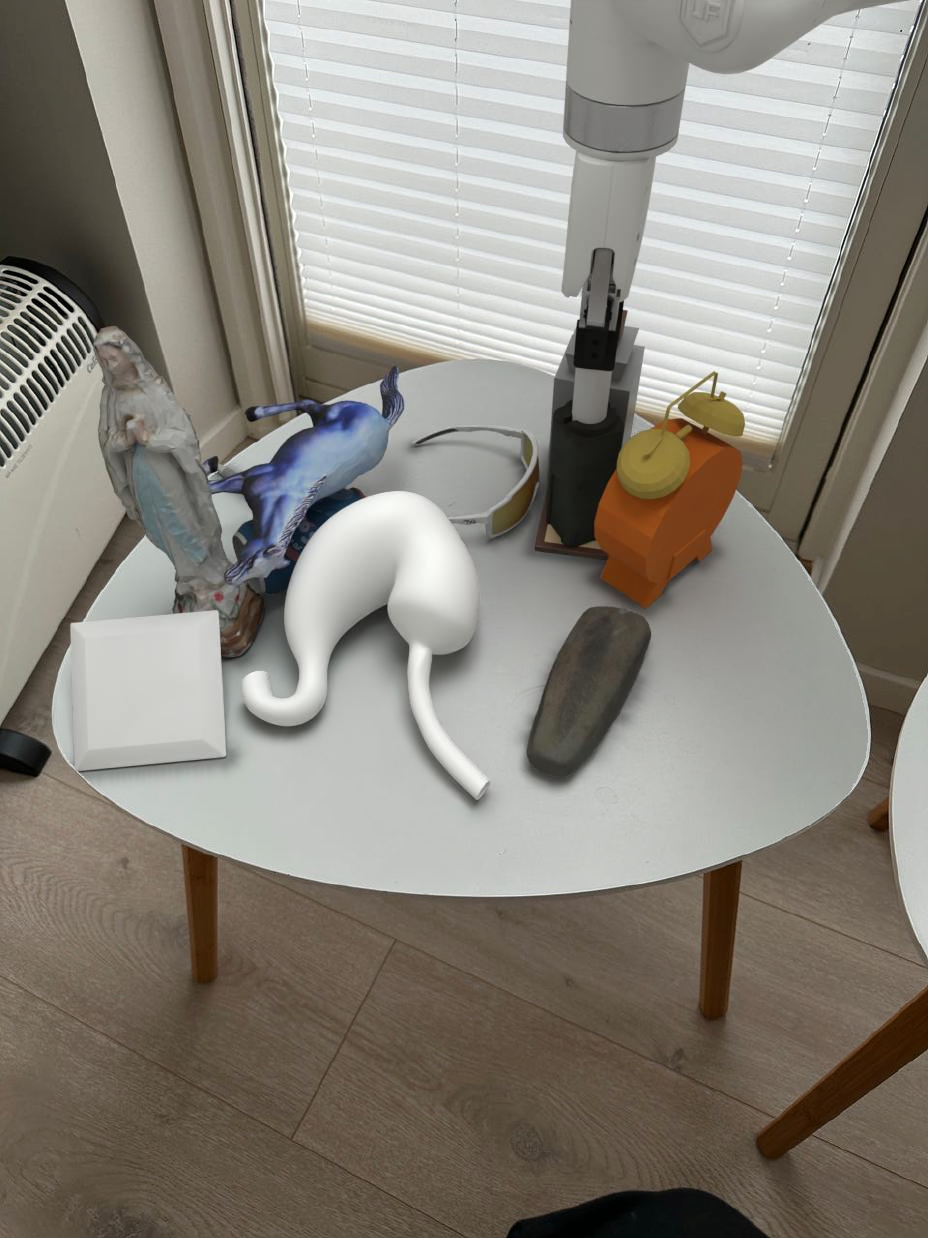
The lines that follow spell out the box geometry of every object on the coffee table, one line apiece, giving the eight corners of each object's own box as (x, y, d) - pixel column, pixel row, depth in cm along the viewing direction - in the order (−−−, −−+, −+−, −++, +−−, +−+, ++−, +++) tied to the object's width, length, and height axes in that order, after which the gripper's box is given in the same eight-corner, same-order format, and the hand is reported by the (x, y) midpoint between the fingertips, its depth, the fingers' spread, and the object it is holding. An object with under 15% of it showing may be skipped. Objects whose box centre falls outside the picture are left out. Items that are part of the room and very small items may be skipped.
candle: (541, 515, 91) (555, 281, 71) (587, 499, 92) (614, 264, 72) (567, 550, 88) (589, 315, 68) (614, 533, 89) (649, 297, 70)
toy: (125, 512, 79) (229, 558, 69) (344, 325, 90) (458, 343, 80) (172, 575, 84) (274, 626, 75) (374, 391, 95) (484, 415, 86)
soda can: (236, 521, 79) (360, 473, 84) (223, 534, 86) (338, 488, 90) (271, 596, 80) (391, 544, 85) (255, 603, 86) (368, 554, 91)
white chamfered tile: (69, 771, 73) (91, 771, 78) (223, 756, 74) (236, 757, 79) (65, 620, 75) (86, 630, 80) (215, 607, 76) (228, 617, 81)
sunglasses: (521, 555, 88) (515, 516, 84) (375, 537, 93) (363, 500, 89) (558, 458, 96) (554, 418, 93) (423, 446, 101) (414, 408, 97)
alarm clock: (672, 510, 92) (710, 334, 76) (724, 542, 89) (774, 366, 73) (583, 583, 86) (604, 409, 70) (636, 620, 83) (670, 447, 68)
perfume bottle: (546, 490, 93) (557, 333, 79) (562, 446, 97) (576, 290, 83) (613, 504, 91) (636, 347, 77) (627, 459, 95) (651, 302, 81)
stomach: (235, 702, 83) (449, 864, 76) (177, 653, 71) (425, 840, 64) (392, 511, 89) (605, 645, 82) (362, 434, 77) (611, 584, 69)
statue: (164, 649, 82) (36, 361, 59) (197, 586, 86) (90, 296, 63) (244, 663, 81) (146, 376, 57) (274, 599, 85) (194, 308, 62)
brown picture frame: (624, 461, 96) (625, 456, 96) (610, 560, 88) (611, 555, 87) (555, 453, 97) (555, 447, 97) (534, 550, 89) (534, 545, 88)
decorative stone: (585, 614, 84) (589, 583, 81) (654, 637, 82) (661, 607, 79) (508, 767, 74) (509, 739, 71) (585, 797, 72) (589, 770, 69)
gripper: (580, 57, 66) (563, 291, 80) (546, 167, 56) (534, 412, 70) (688, 63, 65) (651, 300, 79) (673, 176, 55) (634, 424, 69)
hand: (596, 351), depth 75 cm, fingers open, 3 cm apart
